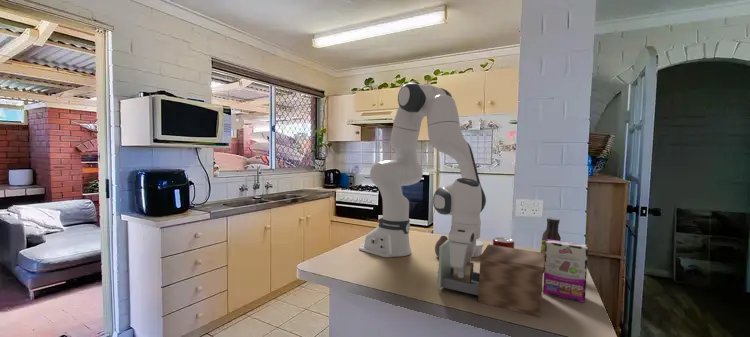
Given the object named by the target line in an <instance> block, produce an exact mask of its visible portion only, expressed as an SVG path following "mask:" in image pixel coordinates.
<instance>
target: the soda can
mask: <svg viewBox="0 0 750 337" xmlns="http://www.w3.org/2000/svg"><path fill="white" fill-rule="evenodd" d="M492 245H495V246H502V247H508V248H515V241H514V240H513V239H512V238H507V237H503V236H502V237H498V236H497V237H495V238H493V239H492Z"/></svg>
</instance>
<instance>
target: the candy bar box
mask: <svg viewBox="0 0 750 337" xmlns="http://www.w3.org/2000/svg"><path fill="white" fill-rule="evenodd" d="M588 252H589V248H588V244H584V243H577V242H571V241H562V240H561V241H557V240H550V239H547V241H546V245H545V266H544V271H543V284H542V294H544V295H549V296H553V297H558V298H562V299H563V298H564V299H567V300H572V301H576V302H581V303H585V302H586V295H587V294H586V291H587V290H586V288H587V273H588V271H587V270H588V254H589V253H588Z"/></svg>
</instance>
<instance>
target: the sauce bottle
mask: <svg viewBox="0 0 750 337" xmlns="http://www.w3.org/2000/svg"><path fill="white" fill-rule="evenodd" d="M559 224H560V219H559V218H557V217H547V218H546V228H545V231H543V234H542V236H541V242H540V251H539V252H540V253H544V264H543V272H544V266H545V245H546V241H547V239H550V240H557V241H562V240H561V236H560V233H559Z"/></svg>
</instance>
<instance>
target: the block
mask: <svg viewBox="0 0 750 337" xmlns="http://www.w3.org/2000/svg"><path fill="white" fill-rule="evenodd" d="M474 264H475V262H472V261H470V262H468V263H467V264H466V265H465V267H464V271H465V276H464V277H463V278H459V277H458V271H457V268H454V277H453V280H457V281H462V282H467V283H470V282H471V280H472V279H473V272H474V268H475V266H474Z"/></svg>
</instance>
